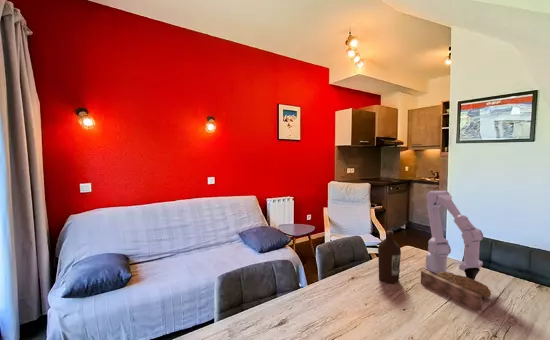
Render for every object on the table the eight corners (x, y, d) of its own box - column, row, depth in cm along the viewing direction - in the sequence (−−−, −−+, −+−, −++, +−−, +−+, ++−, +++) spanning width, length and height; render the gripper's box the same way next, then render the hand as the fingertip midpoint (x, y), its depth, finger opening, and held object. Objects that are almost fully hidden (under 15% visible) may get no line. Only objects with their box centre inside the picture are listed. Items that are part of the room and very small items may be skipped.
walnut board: (420, 282, 132) (421, 271, 132) (424, 281, 133) (424, 270, 133) (477, 311, 108) (478, 297, 108) (481, 309, 109) (482, 295, 109)
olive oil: (373, 278, 137) (374, 230, 136) (385, 272, 143) (386, 227, 141) (392, 286, 128) (393, 235, 127) (404, 280, 134) (405, 232, 133)
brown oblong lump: (433, 286, 131) (472, 298, 112) (433, 269, 133) (472, 279, 114) (454, 287, 134) (496, 300, 115) (454, 271, 136) (495, 281, 117)
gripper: (471, 259, 119) (469, 289, 120) (490, 254, 125) (488, 282, 126) (455, 254, 126) (453, 282, 126) (474, 249, 131) (472, 276, 132)
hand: (470, 282), depth 127 cm, fingers closed
